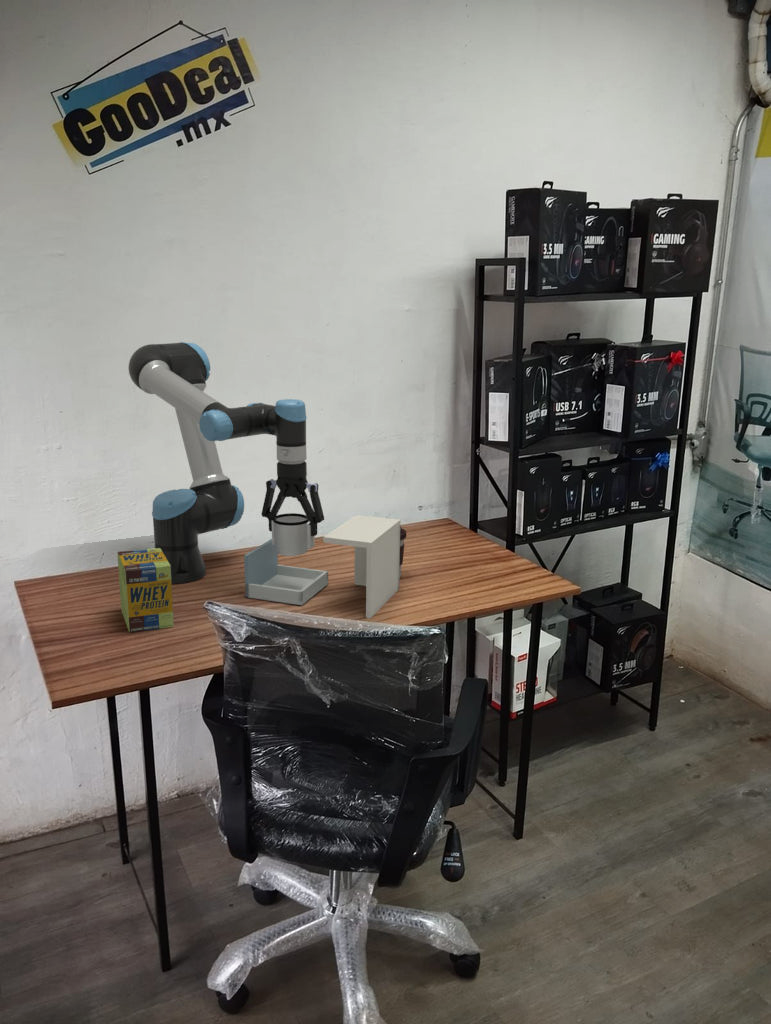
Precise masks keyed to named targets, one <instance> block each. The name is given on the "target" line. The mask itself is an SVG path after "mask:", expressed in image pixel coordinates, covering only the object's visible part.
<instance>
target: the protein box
mask: <svg viewBox="0 0 771 1024" xmlns="http://www.w3.org/2000/svg"><path fill="white" fill-rule="evenodd" d="M116 554H117V568H118V581H119V595H120V610H121V613H122V615H123V618H124V619H123V620H124V622H125V624H126V627H127V630H128V633H131V634H132V633H138V632H144V631H145V632H146V631H151V630H152V631H153V630H157V629H166V628H173V627H174V623H175V622H174V605H173V587H172V582H171V566H170V564H169V562H168V560H167V559H166V557H165V555H164V554H163V552H162V550H161V549H160V548H155V547H154V548H144V549H134V550H123V551H121V550H120V551H117V553H116Z"/></svg>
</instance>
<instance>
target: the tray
mask: <svg viewBox="0 0 771 1024" xmlns="http://www.w3.org/2000/svg"><path fill="white" fill-rule="evenodd" d="M243 558H244V561H243V563H244V588H245V589H244V590H245V591H244V597H245V598H250V599H256V600H262V601H263V600H264V601H270V602H277V603H283V604H288V605H289V604H290V605H298V606H303V605H304V604H306V602H308V601H309V600H310V599H311V598H312V597H314V596H315V595H316V594H317V593H319V592H320V591H321V590H322V589H324V588H326V586H327V585H329V571H327V570H322V569H321V570H320V569H314V568H307V567H298V566H292V565H291V566H290V565H282V564H279V554H278V553H277V552H276V551H275V545H272V538H271V539H269V540H267V541H266V542H265V541H264V543H262V544H261V545H259V546H257V547H255V548H253V549H252V550H251V551H249V552H248V553H245V554H243Z"/></svg>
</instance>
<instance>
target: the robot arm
mask: <svg viewBox="0 0 771 1024" xmlns="http://www.w3.org/2000/svg"><path fill="white" fill-rule="evenodd" d="M128 361H129V362H128V373H129V375H128V376H129V377H130V380H131V381H132V382H133V384H134V385H135V386H136V387H137V388H139V389H140V390H141V391H142V392H144V393H146V394H148V395H155V396H157V397H158V398H160V399H162V400H163V401H164V402H166V403H167V404H168V405H170V406H171V407H174V410H175V414H176V418H177V423H178V425H179V429H180V433H181V434H180V435H181V437H182V441H183V442H182V443H183V445H184V448H185V449H184V450H185V454H186V459H187V461H188V466H189V469H190V474H191V477H192V483H191V485H189V488H179V489H169V490H167V491H164V492H162V493H159V494H158V495H156V496H155V498H154V499H153V501H152V510H151V515H152V522H153V524H152V525H153V536H154V537H153V539H154V540H153V541H154V548H160V549H161V550H162V552H163V554H164V555H165V557H166V559H167V560H168V562H169V564H170V566H171V582H172V584H185V583H191V582H194V581H197V580H198V581H199V579H202V578H204V576H206V574H207V573H206V564H205V561H204V558H203V557H202V554H201V551H200V548H199V537H198V535H202V534H207V533H210V532H214V531H219V530H223V529H228V528H229V527H232V526H235V525H236V524H238V523H239V522H240V521H241V519H242V516H243V514H244V511H245V499H244V495H243V493H242V491H241V490H240V489H239V487H238V486H236V485H233V484H232V483H231V479H230V477H228V476H226V475H225V474H224V473H223V469H222V465H221V461H220V457H219V453H218V449H217V445H216V442H217V441H218V442H223V441H226V440H233V439H237V438H238V439H239V438H245V437H251V436H252V437H253V436H257V435H271V436H275V438H276V442H275V443H276V460H277V461H278V462H277V463H276V476H277V478H276V479H269V480H267V481H265V486H266V491H265V496H264V501H263V506H262V510H261V517H263V518H267V520H268V530H269V532H271V539H272V545H275V523H274V522H273V517H275V516H277V515H278V513H279V511H280V510H281V508H282V506H283V504H284V502H285V499H286V498H290V497H291V498H294V499H295V498H296V500H297V502H298V503H299V504H300V505H301V508H302V510H303V512H304V515H306V516H307V518H308V520H309V522H308V523H307V549H308V550H311V549H313V548H314V547H315V536H317V535H318V524H319V523H322V522H323V521H324V520H325V516H324V515H325V514H324V512H323V511H324V510H323V506H322V503H321V499H320V495H319V484H318V483H310V482H309V481H308V480H307V475H308V473H307V471H308V470H307V466H308V465H307V464H308V463H307V462H306V460H307V412H306V411H307V409H306V403H305V401H303V400H301V399H293V398H291V399H290V398H286V399H284V398H283V399H279V400H277V401H275V405H271V404H267V403H263V402H252V403H249V404H247V405H246V406H240V407H239V406H238V407H231V408H230V407H227V406H226V405H224V404H223V403H222V402H219V401H218V400H216V399H215V398H213V397H212V396H210V395H208V393H206V392H204V390H206V388H207V383H206V381H208V379H209V377H210V376H211V372H210V371H211V362H210V359H209V357H208V355H207V353H206V352H205V350H204V349H203V347H201V346H199V345H198V344H196V343H194V342H183V341H180V342H172V343H158V344H157V343H156V344H155V343H153V344H152V343H151V344H146V345H142V346H141V347H139V348H137V349H136V350H135V351H134V352H133V353H132V354H131V357H130V359H129V360H128ZM276 487H277V488H278V489H279V492H278V494H277V497H276V500H275V501H274V503H273V499H274V495H275V491H276ZM306 489H308V492H309V496H310V500H311V502H310V500H309V498H308V494H307V492H306ZM311 504H312V505H311ZM272 505H273V506H272Z"/></svg>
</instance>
